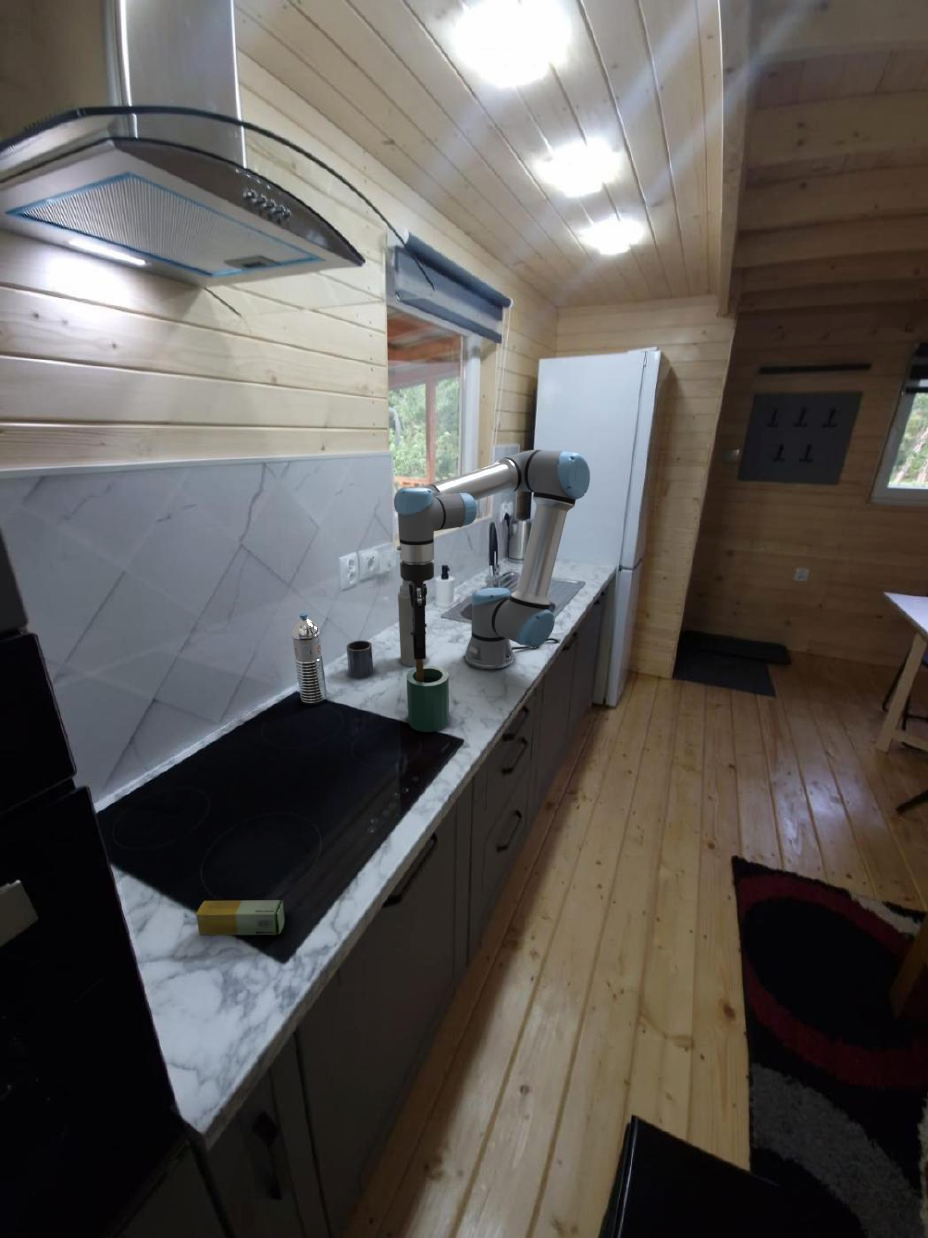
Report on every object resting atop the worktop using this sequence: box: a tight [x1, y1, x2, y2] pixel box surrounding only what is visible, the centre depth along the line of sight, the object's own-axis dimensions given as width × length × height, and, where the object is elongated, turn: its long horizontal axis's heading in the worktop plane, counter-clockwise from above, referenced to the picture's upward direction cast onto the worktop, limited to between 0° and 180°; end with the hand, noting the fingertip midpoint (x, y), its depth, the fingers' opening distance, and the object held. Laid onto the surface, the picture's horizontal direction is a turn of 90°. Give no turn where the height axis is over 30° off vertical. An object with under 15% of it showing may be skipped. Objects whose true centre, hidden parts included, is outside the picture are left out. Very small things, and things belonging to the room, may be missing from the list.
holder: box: [346, 640, 374, 679], centre depth 147 cm, size 7×7×9 cm
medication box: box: [195, 899, 286, 936], centre depth 74 cm, size 12×3×4 cm, turn 92°
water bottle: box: [291, 612, 328, 707], centre depth 129 cm, size 7×7×25 cm
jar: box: [405, 665, 450, 733], centre depth 123 cm, size 10×10×13 cm
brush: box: [415, 659, 424, 683], centre depth 119 cm, size 4×4×25 cm
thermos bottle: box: [397, 579, 427, 667], centre depth 151 cm, size 8×8×28 cm
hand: (419, 655), depth 118 cm, fingers closed on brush, 2 cm apart
